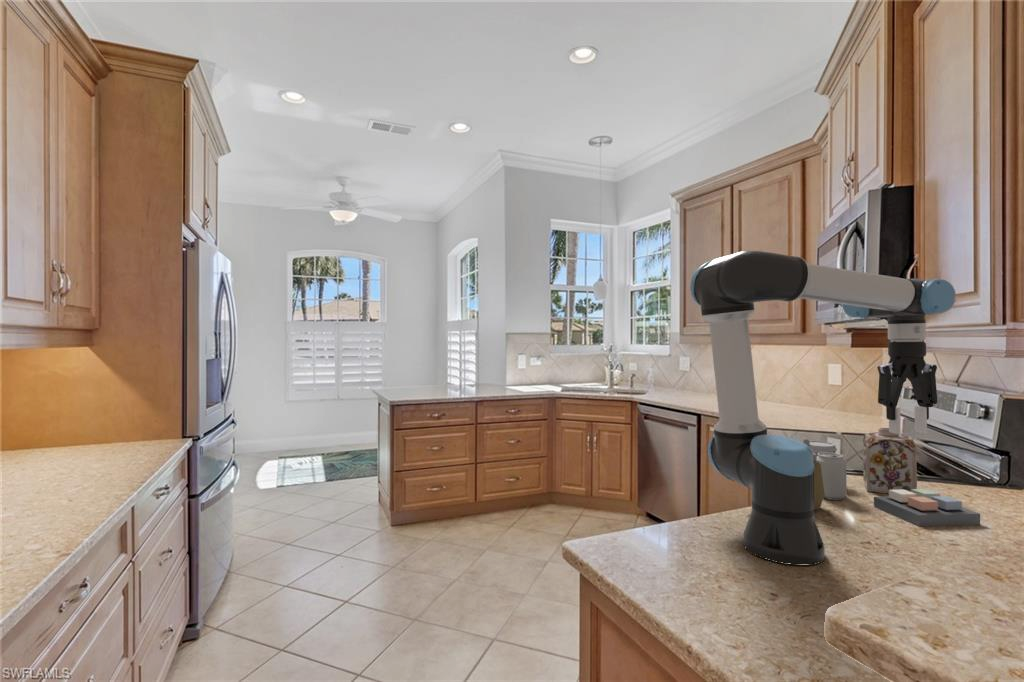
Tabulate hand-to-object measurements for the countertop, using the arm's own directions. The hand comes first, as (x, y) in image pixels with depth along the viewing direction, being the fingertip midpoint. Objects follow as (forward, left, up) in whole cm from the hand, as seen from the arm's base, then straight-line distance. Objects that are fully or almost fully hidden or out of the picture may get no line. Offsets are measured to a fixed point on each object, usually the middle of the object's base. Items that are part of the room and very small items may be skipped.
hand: (907, 432), depth 124 cm
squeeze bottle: (-21, +8, -21) cm, 31 cm away
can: (-9, +16, -21) cm, 28 cm away
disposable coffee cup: (-3, +30, -21) cm, 37 cm away
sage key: (+7, +3, -19) cm, 21 cm away
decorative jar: (+12, +21, -21) cm, 32 cm away
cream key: (+1, +3, -19) cm, 19 cm away
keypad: (+4, 0, -21) cm, 21 cm away
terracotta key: (+1, -3, -19) cm, 19 cm away
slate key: (+7, -3, -19) cm, 21 cm away
